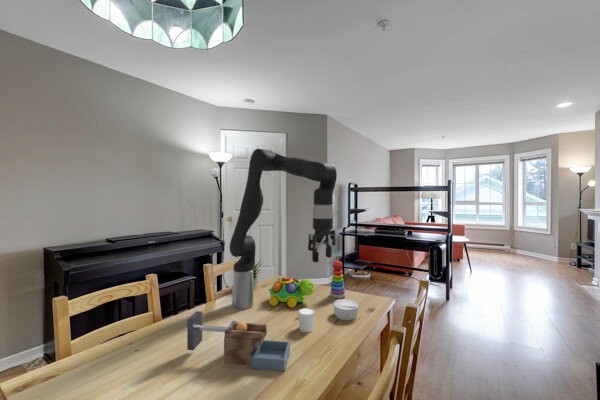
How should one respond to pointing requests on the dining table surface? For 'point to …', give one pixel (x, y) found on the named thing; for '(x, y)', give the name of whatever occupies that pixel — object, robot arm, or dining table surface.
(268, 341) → the blue square tray
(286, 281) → the turtle toy
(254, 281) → the house plant
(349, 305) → the ramekin
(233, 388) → the dining table surface
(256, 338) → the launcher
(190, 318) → the pusher
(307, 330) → the white cup
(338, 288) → the stacking toy
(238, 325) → the ball
